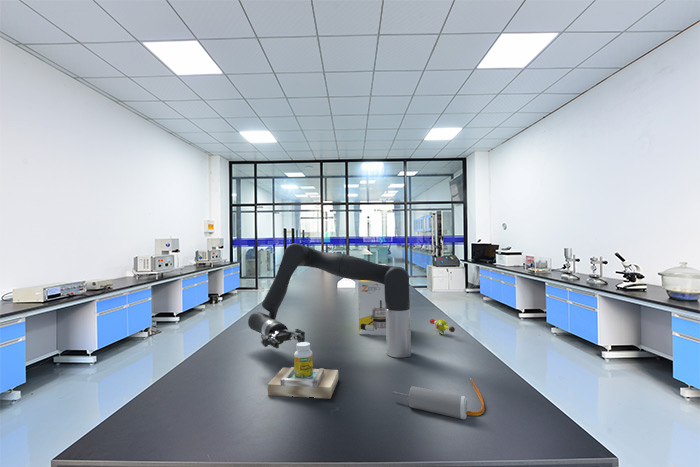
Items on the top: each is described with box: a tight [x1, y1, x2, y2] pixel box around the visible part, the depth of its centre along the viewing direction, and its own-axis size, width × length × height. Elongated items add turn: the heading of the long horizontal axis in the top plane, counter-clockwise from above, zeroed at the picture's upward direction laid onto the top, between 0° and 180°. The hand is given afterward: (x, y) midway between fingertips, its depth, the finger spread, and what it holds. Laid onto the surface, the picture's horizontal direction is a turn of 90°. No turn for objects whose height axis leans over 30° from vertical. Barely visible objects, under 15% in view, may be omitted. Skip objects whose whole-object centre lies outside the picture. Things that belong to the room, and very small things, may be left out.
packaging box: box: [357, 280, 386, 336], centre depth 151 cm, size 16×16×25 cm
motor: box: [392, 377, 485, 420], centre depth 85 cm, size 23×22×5 cm
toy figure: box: [429, 318, 456, 336], centre depth 143 cm, size 18×6×7 cm, turn 17°
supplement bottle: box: [293, 341, 314, 379], centre depth 90 cm, size 5×5×10 cm
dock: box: [267, 366, 339, 400], centre depth 91 cm, size 18×12×4 cm
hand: (290, 342), depth 99 cm, fingers open, 8 cm apart
